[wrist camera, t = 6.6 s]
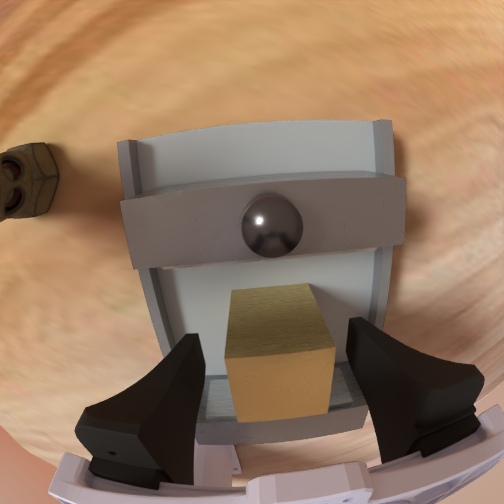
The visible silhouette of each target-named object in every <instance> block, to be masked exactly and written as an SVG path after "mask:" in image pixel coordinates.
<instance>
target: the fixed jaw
mask: <svg viewBox="0 0 504 504" xmlns="http://www.w3.org/2000/svg"><path fill="white" fill-rule="evenodd" d="M368 410H369V408H368V405H367V403H366V400H365V398H364V396H363V394H362V391H361V389H360V387H359V385H358V383H357V381H356V379H355V376H354V374H353V372H352V370H351V368H350V365H349V361H345V362H339V363H334V370H333V378H332V386H331V393H330V400H329V407H328V413H325V414H319V415H313V416H306V417H298V418H290V419H281V420H271V421H258V422H241V423H238V421H237V417H236V412H235V408H234V403H233V399H232V394H231V390H230V385H229V380H228V375H205V384H204V389H203V393H202V398H201V403H200V407H199V412H198V417H197V423H196V432H195V439H196V441H197V443H198V445H247V444H264V443H276V442H286V441H294V440H302V439H309V438H315V437H321V436H327V435H332V434H337V433H342V432H347V431H351V430H356V429H360V428H363V425H364V422H365V419H366V416H367V413H368Z"/></svg>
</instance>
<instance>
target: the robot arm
mask: <svg viewBox="0 0 504 504" xmlns="http://www.w3.org/2000/svg"><path fill="white" fill-rule="evenodd" d="M345 351H346V355H347V358H348V361H349V365H350V368H351V370H352V372H353V374H354V376H355V379H356V381H357V383H358V385H359V387H360V389H361V391H362V394H363V396H364V398H365V400H366V403H367V405H368V408H369V411H370V414H371V418H372V421H373V425H374V429H375V433H376V436H377V441H378V446H379V451H380V456H381V462H382V464H381V465H378V466H374V467H371V468H367V465H366V464H365V463H361V462H357V461H353V462H345V463H339V464H334V465H329V466H324V467H318V468H312V469H306V470H299V471H291V472H281V473H273V474H267V475H261V476H258V477H256V478H253V479H251V480H250V481H248V483H247V485H246V487H232V474H241V473H242V469H241V466H240V463H239V460H238V457H237V453H236V450H235V447H234V445H198V443H197V441H196V439H195V432H196V423H197V417H198V412H199V407H200V403H201V398H202V393H203V389H204V384H205V373H206V363H205V359H204V355H203V351H202V346H201V342H200V338H199V334H198V333H186V334H185V335H184V336H183V338H182V339H181V340H180V341H179V342H178V343H177V344H176V346H175V347H174V348H173V349H172V350H171V351H170V352H169V353H168V355H167V356H166V357H165V358H164V359H163V360H162V361H161V362H160V363H159V364H158V365H157V366H156V367H155V368H154V369H153V370H151V371H150V372H149V373H148V374H147V375H146V376H144V377H143V378H142V379H140V380H139V381H138V382H136V383H135V384H133V385H132V386H130V387H129V388H127V389H126V390H124V391H122V392H121V393H119V394H117V395H115V396H113V397H111V398H109V399H107V400H104V401H102V402H99V403H97V404H94V405H91V406H89V407H86V408H85V409H84V411H83V413H82V415H81V417H80V419H79V421H78V423H77V425H76V427H75V434H76V436H77V438H78V439H79V441H80V442H81V443H82V444H83V446H84V447H85V448H86V449H87V450H88V451H89V452H90V453H91V454H92V456H93V458H92V460H91V462H90V461H89V460H87V459H85V458H83V457H80V456H77V455H74V454H71V453H68V452H65V453H64V455H63V457H62V459H61V461H60V464H59V466H58V468H57V471H56V473H55V475H54V477H53V480H52V482H51V485H50V487H49V490H48V493H49V494H50V495H51V496H53V497H54V498H56V499H57V500H58V501H60V502H61V503H63V504H436V503H438V502H439V501H441V500H443V499H445V498H446V497H448V496H450V495H451V494H453V493H455V492H456V491H458V490H460V489H461V488H463V487H465V486H466V485H468V484H469V483H471V482H472V481H474V480H476V479H477V478H478V477H480V476H482V475H483V474H485V473H486V472H487V471H489V470H490V469H492V468H493V467H494V466H495V465H496V464H497V463H498V462H499V461H500V460H501V459H502V458H503V457H504V412H503V411H502V409H501V408H500V406H499V405H498V404H496V405H494V406H493V407H491V408H490V409H488V410H486V411H485V412H483V413H482V414H480V415H479V416H478V417H476V416H475V414H474V413H475V412H476V408H475V406H474V405H473V404H474V402H475V401H476V399H477V397H478V396H479V394H480V392H481V390H482V388H483V385H484V380H485V379H484V376H483V375H482V373H481V372H480V371H479V370H478V369H477V368H476V366H475V365H471V364H463V363H456V362H451V361H446V360H442V359H439V358H436V357H433V356H430V355H427V354H424V353H421V352H419V351H417V350H415V349H412V348H410V347H408V346H406V345H404V344H403V343H401V342H399V341H397V340H396V339H394V338H392V337H391V336H389V335H388V334H386V333H384V332H383V331H381V330H380V329H378V328H377V327H376V326H374V325H373V324H371V323H370V322H368V321H367V320H365V319H364V318H362V317H361V316H360V317H354V318H349V323H348V333H347V342H346V350H345Z"/></svg>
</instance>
